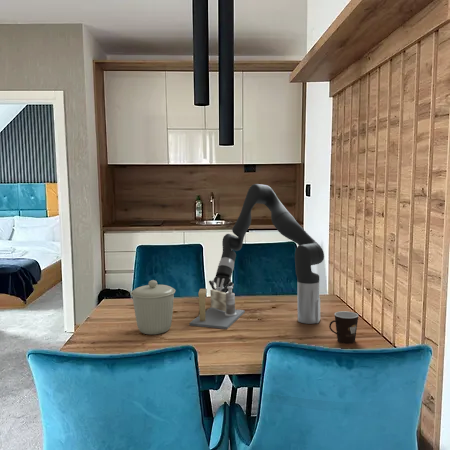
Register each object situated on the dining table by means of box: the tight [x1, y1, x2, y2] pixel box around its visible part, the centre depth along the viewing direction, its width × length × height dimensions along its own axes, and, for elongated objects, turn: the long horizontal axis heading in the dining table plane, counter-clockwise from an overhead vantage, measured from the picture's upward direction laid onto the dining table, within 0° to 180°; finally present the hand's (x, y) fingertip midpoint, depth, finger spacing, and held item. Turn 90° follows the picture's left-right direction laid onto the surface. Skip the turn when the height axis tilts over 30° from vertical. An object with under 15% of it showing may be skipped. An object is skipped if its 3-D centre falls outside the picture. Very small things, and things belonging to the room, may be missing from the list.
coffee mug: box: [328, 310, 359, 345], centre depth 168 cm, size 12×9×10 cm
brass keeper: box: [198, 288, 208, 321], centre depth 196 cm, size 8×3×13 cm, turn 178°
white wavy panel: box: [209, 289, 236, 314], centre depth 204 cm, size 15×4×9 cm, turn 40°
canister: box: [130, 279, 176, 335], centre depth 184 cm, size 18×18×21 cm
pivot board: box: [188, 286, 246, 330], centre depth 198 cm, size 17×24×14 cm
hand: (217, 299), depth 212 cm, fingers closed
